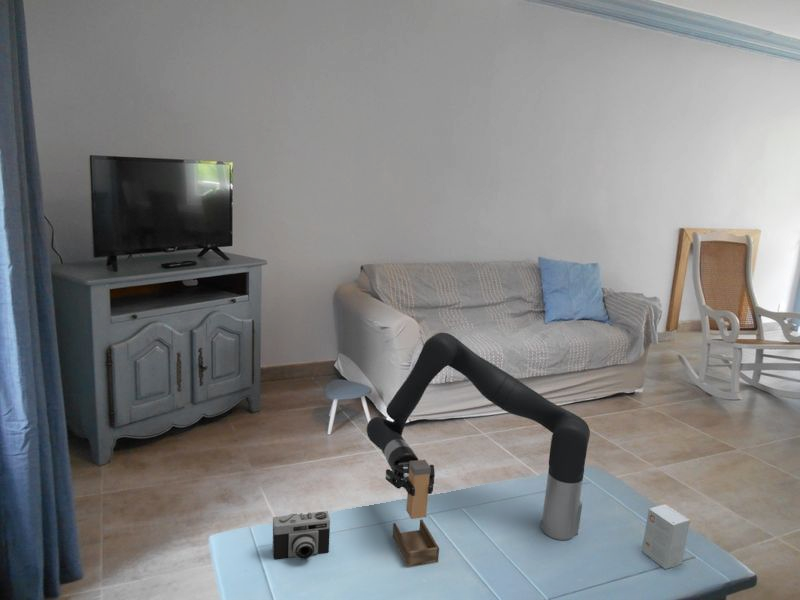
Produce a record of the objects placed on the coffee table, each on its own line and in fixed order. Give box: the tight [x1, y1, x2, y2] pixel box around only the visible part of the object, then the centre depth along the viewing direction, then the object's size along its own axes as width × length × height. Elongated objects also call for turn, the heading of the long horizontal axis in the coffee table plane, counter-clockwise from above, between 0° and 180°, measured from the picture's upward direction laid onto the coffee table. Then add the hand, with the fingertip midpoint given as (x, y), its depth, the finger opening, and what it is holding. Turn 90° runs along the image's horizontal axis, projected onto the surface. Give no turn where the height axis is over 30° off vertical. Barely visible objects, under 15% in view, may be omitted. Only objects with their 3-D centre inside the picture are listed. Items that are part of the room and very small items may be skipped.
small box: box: [641, 503, 691, 570], centre depth 158 cm, size 8×6×13 cm
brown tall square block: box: [405, 459, 431, 520], centre depth 154 cm, size 4×4×14 cm
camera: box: [272, 510, 331, 561], centre depth 151 cm, size 14×8×10 cm, turn 106°
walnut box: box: [392, 518, 440, 568], centre depth 157 cm, size 8×13×4 cm, turn 18°
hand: (422, 491), depth 151 cm, fingers closed on brown tall square block, 4 cm apart
